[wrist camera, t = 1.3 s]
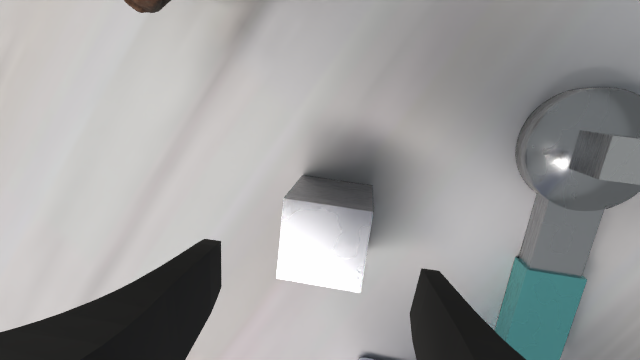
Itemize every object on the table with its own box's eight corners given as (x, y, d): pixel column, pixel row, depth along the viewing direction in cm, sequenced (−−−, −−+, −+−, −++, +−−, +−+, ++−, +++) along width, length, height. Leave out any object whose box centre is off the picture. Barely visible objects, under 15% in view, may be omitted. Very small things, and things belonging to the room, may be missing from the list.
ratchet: (569, 354, 22) (612, 409, 18) (466, 335, 23) (486, 384, 19) (660, 95, 18) (739, 95, 14) (532, 81, 19) (574, 78, 15)
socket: (362, 250, 22) (360, 293, 18) (295, 239, 23) (276, 278, 18) (372, 185, 21) (373, 211, 17) (302, 175, 22) (283, 198, 17)
